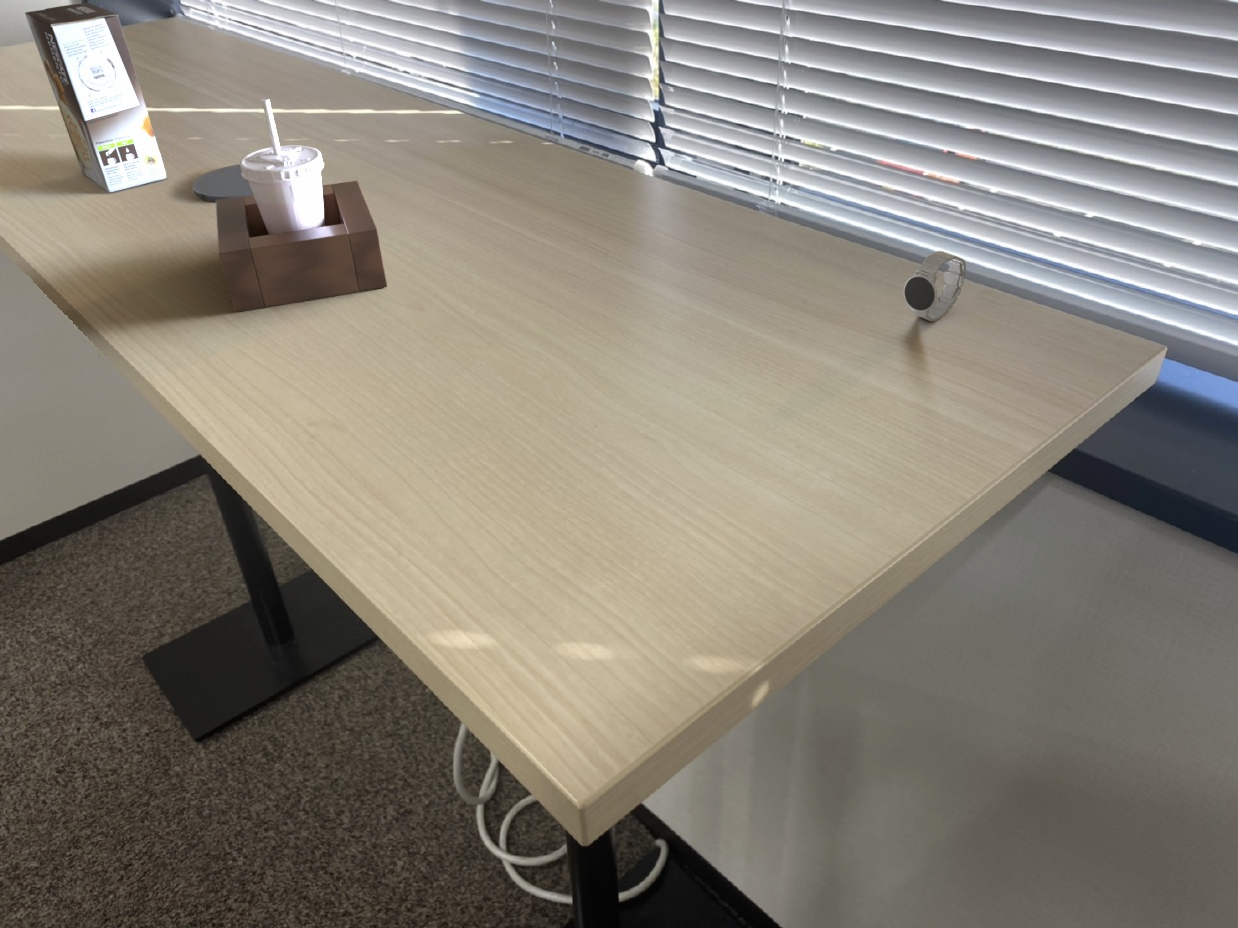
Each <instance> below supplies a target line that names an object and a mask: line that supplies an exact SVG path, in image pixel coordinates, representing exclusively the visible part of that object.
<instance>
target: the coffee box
mask: <svg viewBox="0 0 1238 928" xmlns="http://www.w3.org/2000/svg"><path fill="white" fill-rule="evenodd" d="M24 15H25V17H26V21H27V23H28V26H29V28H30V31H31V34H32V37H33V40H34V43H35V46H36V48H37V52H38V54H39V56H40V59H41V62H42V65H43V68H44V70H45V73H46V76H47V78H48V82H49V84H50V87H51V90H52V92H53V95H54V98H55V100H56V103H57V106H58V109H59V111H60V114H61V117H62V120H63V123H64V126H65V128H66V132H67V134H68V137H69V140H70V142H71V145H72V149H73V151H74V154H75V157H76V159H77V162H78V165H79V168H80V170H81V173H82V174H83V175H85V176H86V177H87V178H89V180H91V181H93V183H95V184H96V185H98V186H100V187H101V188H102V189H104V190H105V191H106V192H107V193H114V192H118V191H121V190H126V189H130V188H133V187H138V186H141V185H145V184H149V183H153V182H158V181H162V180H165V179H166V178H167V176H168V175H167V172H166V169H165V166H164V165H165V164H164V162H163V158H162V155H161V152H160V148H159V146H158V142H157V139H156V135H155V133H154V129H153V126H152V122H151V118H150V116H149V115H150V114H149V112H148V109H147V106H146V105H147V104H146V102H145V99H144V96H143V93H142V89H141V86H140V83H139V80H138V76H137V73H136V69H135V66H134V63H133V60H132V56H131V53H130V50H129V46H128V44H127V39H126V36H125V33H124V30H123V27H122V22H121V21H120V17H119V16H120V15H119V14H118V13H115V12H112V11H109V10H107V9H104V8H102V7H99V6H97V5H94V4H92V3H89V2H83V3H82V2H81V3H73V4H67V5H60V6H54V7H48V8H44V9H39V10H31V11H26V12H25V13H24Z"/></svg>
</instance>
